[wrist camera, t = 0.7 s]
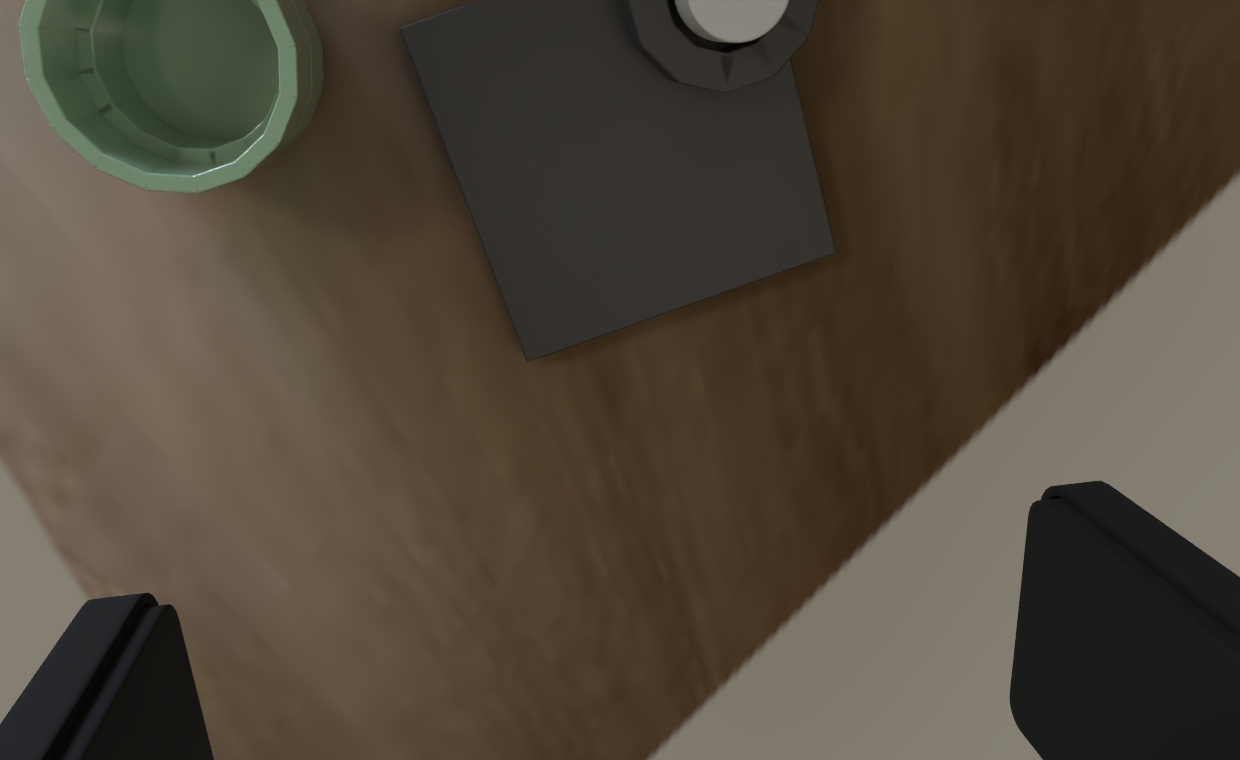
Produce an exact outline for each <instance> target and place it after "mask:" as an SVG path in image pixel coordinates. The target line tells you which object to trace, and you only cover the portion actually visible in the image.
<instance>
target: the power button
mask: <svg viewBox="0 0 1240 760" xmlns="http://www.w3.org/2000/svg"><path fill="white" fill-rule="evenodd" d="M788 2H789V0H675V5H676V8H677V11H678V13H679V15H680V17H681V19H682V20H683V22H684V23H685V24H686V25H687V27H688V28H689V29H690V30H691V31H693V32H694V33H695V34H697V35H698V36H700V37H702V38H704V39H707V40H710V41H715V42H727V43H743V42H748V41H752V40H755V39H757V38H759V37H761V36H763V35H764V34H766V33H767V32H768V31H770V30H771V29H772V28H773V27H774V26H775V25H776V24H777V22H778V21H779V20H780V19H781V17H782V15H783V14H784V12H785V10H786V7H787V5H788Z"/></svg>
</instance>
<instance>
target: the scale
mask: <svg viewBox="0 0 1240 760" xmlns="http://www.w3.org/2000/svg"><path fill="white" fill-rule="evenodd" d="M818 2H819V0H789V2H788V5H787V7H786V10H785V12H784V14H783V15H782V17H781V19H780V20H779V21H778V22H777V24H776V25H775V26H774V27H773V28H772V29H771V30H770V31H768V32H767V33H766V34H764V35H763V36H761V37H759V38H757V39H755V40H752V41H748V42H743V43H727V42H715V41H710V40H707V39H704V38H702V37H700V36H698V35H697V34H695V33H694V32H693V31H691V30H690V29H689V28H688V27H687V25H686V24H685V23H684V22H683V20H682V19H681V17H680V15H679V13H678V11H677V8H676V5H675V0H477V1H474V2H471V3H468V4H465V5H462V6H459V7H456V8H453V9H450V10H448V11H445V12H442V13H439V14H436V15H433V16H430V17H427V18H424V19H421V20H419V21H416V22H413V23H410V24H407V25H404V26H401V27H400V31H401V34H402V37H403V39H404V42H405V45H406V47H407V50H408V52H409V55H410V58H411V60H412V63H413V65H414V68H415V71H416V73H417V76H418V79H419V81H420V84H421V86H422V89H423V92H424V94H425V97H426V99H427V102H428V105H429V107H430V110H431V113H432V115H433V118H434V120H435V123H436V126H437V128H438V131H439V133H440V136H441V139H442V141H443V144H444V147H445V149H446V152H447V154H448V157H449V160H450V162H451V165H452V167H453V170H454V173H455V175H456V178H457V181H458V183H459V186H460V188H461V191H462V194H463V196H464V199H465V201H466V204H467V207H468V209H469V212H470V214H471V217H472V220H473V222H474V225H475V228H476V230H477V233H478V235H479V238H480V241H481V243H482V246H483V248H484V251H485V254H486V256H487V259H488V262H489V264H490V267H491V269H492V272H493V275H494V277H495V280H496V282H497V285H498V288H499V290H500V293H501V296H502V298H503V301H504V303H505V306H506V309H507V311H508V314H509V316H510V319H511V322H512V324H513V327H514V330H515V332H516V335H517V337H518V340H519V343H520V345H521V348H522V350H523V353H524V356H525V358H526V360H527V361H532V360H534V359H537V358H540V357H543V356H546V355H549V354H551V353H554V352H557V351H560V350H563V349H566V348H568V347H571V346H574V345H577V344H580V343H583V342H585V341H588V340H591V339H594V338H597V337H599V336H602V335H605V334H608V333H611V332H614V331H616V330H619V329H622V328H625V327H628V326H631V325H633V324H636V323H639V322H642V321H645V320H648V319H650V318H653V317H656V316H659V315H662V314H665V313H667V312H670V311H673V310H676V309H679V308H682V307H684V306H687V305H690V304H693V303H696V302H699V301H701V300H704V299H707V298H710V297H713V296H716V295H718V294H721V293H724V292H727V291H730V290H733V289H735V288H738V287H741V286H744V285H747V284H750V283H752V282H755V281H758V280H761V279H764V278H767V277H769V276H772V275H775V274H778V273H781V272H784V271H786V270H789V269H792V268H795V267H798V266H801V265H803V264H806V263H809V262H812V261H815V260H818V259H820V258H823V257H826V256H829V255H832V254H834V253H836V249H835V245H834V241H833V237H832V233H831V228H830V224H829V220H828V216H827V211H826V207H825V203H824V199H823V194H822V190H821V186H820V182H819V178H818V173H817V169H816V165H815V161H814V156H813V152H812V148H811V144H810V139H809V135H808V131H807V127H806V123H805V118H804V114H803V110H802V106H801V101H800V97H799V93H798V89H797V84H796V80H795V76H794V72H793V68H792V63H791V59H790V58H791V57H792V56H793V55H794V54H795V53H796V52H797V51H798V49H799V48H800V47H801V46H802V45H803V44H804V43H805V41H806V40H807V39H808V36H809V35H810V33H811V29H812V25H813V22H814V18H815V14H816V10H817V6H818Z"/></svg>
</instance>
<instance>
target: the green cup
mask: <svg viewBox="0 0 1240 760" xmlns="http://www.w3.org/2000/svg"><path fill="white" fill-rule="evenodd" d="M19 23H20V24H19V33H20V41H21V50H22V58H23V66H24V74H25V78H27V79H26V82H27V83H28V85H29V87H30V89H31V91H32V93H33V95H34V96H35V98H36V100H37V102H38V104H39V106H40V108H41V110H42V111H43V113H44V115H45V117H46V119H47V121H48V123H49V124H50V126H51V128H52V129H53V130H54V132H55V133H57V134H58V135H59V136H60V137H61V138H62V139H63V140H64V141H65V142H66V143H67V144H69V145H70V146H71V147H72V148H73V149H74V150H75V151H76V152H77V153H78V154H79V155H81V156H82V157H83V158H84V159H85V160H86V161H87V162H88V163H89V164H90V165H92V166H93V167H94V168H95V167H96V169H97V170H99V171H102V172H104V173H106V174H109V175H111V176H113V177H116V178H118V179H120V180H123V181H125V182H127V183H129V184H132V185H134V186H136V187H139V188H141V189H143V190H148V191H161V192H179V193H202V192H204V191H207V190H210V189H213V188H216V187H219V186H222V185H225V184H227V183H230V182H233V181H236V180H239V179H242V178H244V177H245V176H247V175H249V174H250V173H252V172H253V171H255V170H257V169H258V168H260V167H261V166H263V165H264V164H266V163H267V162H269V161H270V160H272V159H273V158H275V157H276V156H278V155H279V154H280V153H281V152H282V151H284V150H285V149H286V148H287V147H288V146H289V145H290V144H291V143H292V142H293V141H294V140H295V139H296V138H297V137H298V136H299V135H300V134H301V133H303V132H304V131H305V130H306V128H307V127H308V126H309V123H310V121H311V118H312V116H313V113H314V111H315V108H316V106H317V103H318V101H319V99H320V96H321V94H322V91H323V86H324V83H323V45H322V41H321V38H320V36H319V33H318V31H317V28H316V26H315V24H314V21H313V19H312V16H311V14H310V11H309V9H308V7H307V4H306V2H305V0H25V4H24V7H23V10H22V13H21V16H20V19H19Z"/></svg>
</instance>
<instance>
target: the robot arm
mask: <svg viewBox="0 0 1240 760" xmlns="http://www.w3.org/2000/svg"><path fill="white" fill-rule="evenodd" d="M1010 705H1011V710H1012V714H1013V717H1014V720H1015V722H1016V724H1017V726H1018V728H1019V729H1020V731H1021V732H1022V733H1023V735H1024V736H1025V737H1026V739H1027V740H1028V741H1029V742H1030V744H1031V745H1032V746H1033V747H1034V749H1035V750H1036V751H1037V753H1038V754H1039V755H1040V756H1041V758H1042V759H1043V760H1240V577H1239V576H1237V575H1236V574H1234V573H1233V572H1232V571H1230V570H1229V569H1227V568H1226V567H1224V566H1223V565H1222V564H1220V563H1219V562H1218V561H1216V560H1215V559H1213V558H1212V557H1210V556H1209V555H1207V554H1206V553H1205V552H1203V551H1202V550H1201V549H1199V548H1198V547H1196V546H1195V545H1194V544H1192V543H1191V542H1189V541H1188V540H1186V539H1185V538H1184V537H1182V536H1181V535H1179V534H1178V533H1177V532H1175V531H1174V530H1172V529H1171V528H1169V527H1168V526H1167V525H1165V524H1164V523H1162V522H1161V521H1160V520H1158V519H1157V518H1155V517H1154V516H1153V515H1151V514H1150V513H1148V512H1147V511H1145V510H1144V509H1142V508H1141V507H1140V506H1138V505H1137V504H1135V503H1134V502H1133V501H1131V500H1130V499H1129V498H1127V497H1126V496H1124V495H1123V494H1121V493H1120V492H1119V491H1117V490H1116V489H1114V488H1113V487H1111V486H1110V485H1109V484H1106V483H1104V482H1102V481H1092V482H1084V483H1075V484H1067V485H1058V486H1051V487H1049V488H1048V489H1046V490H1045V492H1044V494H1043V495H1042V498H1041V500H1039V501H1036V502H1035V503H1033V504H1032V506H1031V508H1030V511H1029V515H1028V525H1027V534H1026V543H1025V553H1024V563H1023V573H1022V582H1021V591H1020V601H1019V611H1018V620H1017V630H1016V640H1015V649H1014V659H1013V669H1012V678H1011V687H1010ZM0 760H214V758H213V754H212V750H211V746H210V742H209V738H208V734H207V730H206V726H205V722H204V718H203V714H202V710H201V706H200V702H199V698H198V694H197V690H196V686H195V682H194V678H193V674H192V670H191V666H190V662H189V658H188V654H187V650H186V646H185V642H184V638H183V634H182V630H181V626H180V622H179V618H178V615H177V612H176V610H175V609H174V607H173V606H172V605H170V604H168V605H160V606H159V605H158V602H157V601H156V599H155V598H154V596H153V595H151V594H150V593H142V594H133V595H125V596H116V597H108V598H99V599H92V600H88V601H87V602H86V603H85V604H84V605H83V606H82V608H81V609H80V611H79V612H78V613H77V615H76V616H75V618H74V619H73V620H72V622H71V623H70V625H69V626H68V628H67V629H66V631H65V632H64V633H63V635H62V636H61V638H60V639H59V640H58V642H57V643H56V645H55V646H54V648H53V649H52V651H51V652H50V654H49V655H48V657H47V658H46V659H45V661H44V662H43V664H42V665H41V666H40V668H39V669H38V671H37V672H36V674H35V675H34V677H33V678H32V679H31V681H30V682H29V684H28V685H27V687H26V688H25V690H24V691H23V692H22V694H21V696H20V697H19V698H18V700H17V701H16V703H15V704H14V705H13V707H12V708H11V710H10V711H9V712H8V714H7V715H6V717H5V718H4V720H3V721H2V723H1V724H0Z"/></svg>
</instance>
